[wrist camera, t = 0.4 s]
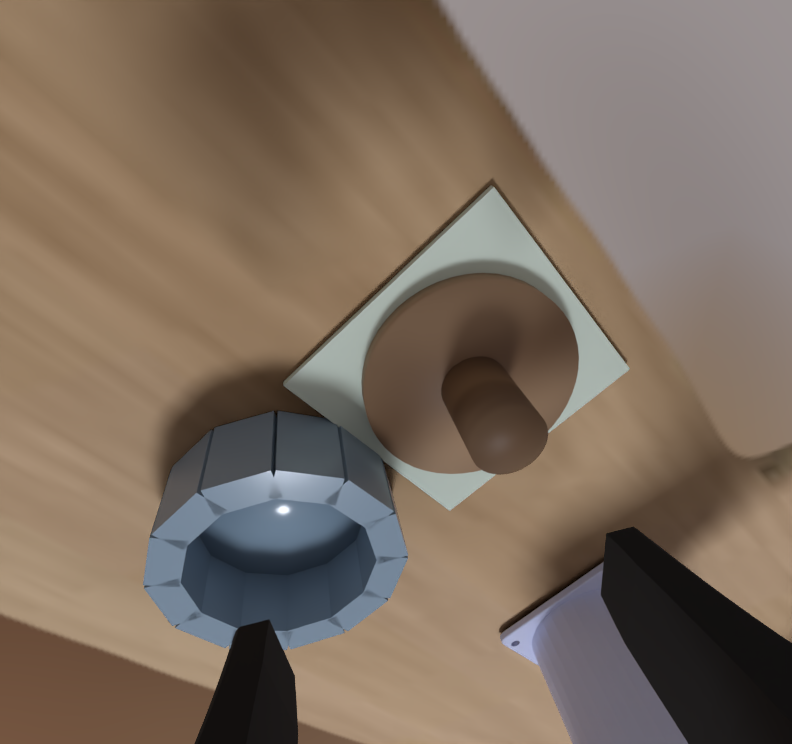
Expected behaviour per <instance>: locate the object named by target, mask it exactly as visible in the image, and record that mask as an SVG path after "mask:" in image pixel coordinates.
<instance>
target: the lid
mask: <svg viewBox="0 0 792 744" xmlns="http://www.w3.org/2000/svg"><path fill="white" fill-rule="evenodd" d="M578 366H579V353H578V344H577V340H576V336H575V333H574V330H573V328H572V326H571V324H570V322H569V320H568V319H567V317H566V316H565V314H564V312H563V311H562V310H561V309H560V308H559V307H558V306H557V305H556V304H555V303H554V302H553V301H552V300H551V299H549V298H548V297H547V296H546V295H544V294H543V293H542V292H540V291H539V290H538V289H537V288H535V287H534V286H532V285H530V284H528V283H526V282H524V281H522V280H519V279H516V278H514V277H511V276H506V275H501V274H495V273H473V274H464V275H459V276H455V277H451V278H448V279H445V280H442V281H439V282H436V283H434V284H432V285H430V286H428V287H426V288H424V289H422V290H420V291H419V292H417V293H416V294H414V295H413V296H411V297H409V298H408V299H407V300H406V301H405V302H403V303H402V304H401V305H400V306H399V307H397V308H396V309H395V310H394V312H393V313H392V314H391V315H390V316H389V317H388V318H387V319H386V320H385V322H384V323H383V324H382V326H381V327H380V328H379V330H378V331H377V333H376V335H375V337H374V338H373V340H372V342H371V344H370V347H369V349H368V352H367V354H366V357H365V361H364V366H363V370H362V381H361V384H362V396H363V401H364V406H365V410H366V414H367V418H368V420H369V423H370V426H371V428H372V430H373V432H374V434H375V435H376V437H377V439H378V440H379V441H380V442H381V444H382V445H383V446H384V447H385V448H386V449H387V450H388V451H389V452H390V453H391V454H392V455H394V456H395V457H397V458H398V459H400V460H401V461H403V462H404V463H406V464H409V465H411V466H413V467H415V468H418V469H421V470H425V471H429V472H434V473H443V474H462V473H469V472H476V471H480V470H483V471H485V472H487V473H491V474H509V473H513V472H516V471H518V470H521V469H523V468H524V467H526V466H528V465H529V464H531V463H532V462H533V461H534V460H535V459H536V458H537V457H538V456H539V455H540V454H541V452H542V451H543V449H544V447H545V445H546V442H547V438H548V430H549V429H550V428H551V427H552V426H553V425H554V424H555V422H556V421H557V420H558V418H559V417H560V416H561V414H562V412H563V411H564V409H565V407H566V406H567V404H568V402H569V399H570V397H571V395H572V393H573V389H574V386H575V383H576V379H577V374H578Z"/></svg>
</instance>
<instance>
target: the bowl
mask: <svg viewBox="0 0 792 744" xmlns="http://www.w3.org/2000/svg"><path fill="white" fill-rule="evenodd" d="M407 555H408V553H407V549H406V545H405V541H404V537H403V533H402V529H401V525H400V521H399V517H398V513H397V509H396V505H395V501H394V497H393V493H392V490H391V487H390V483H389V480H388V476H387V473H386V470H385V466H384V463H383V460H382V458H381V457H380V455H379V454H377V453H376V452H375V451H373V450H372V449H371V448H369V447H368V446H367V445H365V444H364V443H363V442H361V441H360V440H359V439H357V438H356V437H355V436H353V435H352V434H351V433H349V432H348V431H347V430H346V429H344V428H343V427H342V426H340V427H338V426H337V424H334V423H332V422H331V421H330V420H328V419H327V418H321V417H314V416H308V415H302V414H296V413H289V412H283V411H278V413H277V417H276V415H275V413H274V411H272V412H268V413H265V414H261V415H257V416H254V417H250V418H247V419H243V420H240V421H236V422H233V423H229V424H225V425H222V426H218V427H215V428H214V431H213V430H210V431H209V432H208V433H207V434H206V435H205V436H204V437H203V438H202V439H201V440H200V441H199V442H198V443H197V444H195V445H194V446H193V447H192V448H191V449H190V450H189V451H188V452H187V453H186V454H185V455H184V456H183V457H182V458H181V459H180V460H179V461H178V462H177V463H176V464H175V465H174V466H173V467H172V469H171V471H170V474H169V477H168V481H167V484H166V487H165V490H164V493H163V497H162V500H161V503H160V506H159V509H158V512H157V516H156V519H155V522H154V525H153V528H152V532H151V535H150V538H149V545H148V553H147V560H146V567H145V575H144V582H143V585H145V586H144V589H145V590H146V592H147V593H148V594H149V596H150V597H151V598H152V600H153V601H154V602H155V604H156V605H157V606H158V608H159V609H160V610H161V612H162V613H163V614H164V616H165V617H166V618H167V620H168V621H169V622H170V624H171V625H172V626H174V625H176V627H175V628H176V629H179V630H181V631H184V632H186V633H189V634H191V635H194V636H196V637H199V638H201V639H204V640H206V641H209V642H211V643H214V644H216V645H219V646H221V647H224V648H226V647H227V646H229V649H230V647H231V644H232V641H233V638H234V634H235V632H236V630H237V629H238V628H239V627H241V626H245V625H249V624H252V623H256V622H260V621H264V620H268V619H270V622H271V624H272V626H273V628H274V631H275V633H276V635H277V637H278V640H279V642H280V644H281V646H282V649H283V650H287V648H288V645H289V647H290V649H293V648H297V647H300V646H303V645H307V644H310V643H313V642H316V641H320V640H323V639H326V638H329V637H333V636H336V635H339V634H342V633H345V632H344V630H346V631H349V630H350V629H351V628H353V627H354V626H355V625H357V624H358V623H359V622H361V621H362V620H363V619H365V618H366V617H367V616H368V615H370V614H371V613H372V612H374V611H375V610H376V609H378V608H379V607H380V606H382V605H383V604H384V603H385V602H387V601H388V598H390V597H391V595H392V593H393V591H394V588H395V586H396V584H397V582H398V579H399V577H400V575H401V573H402V570H403V568H404V566H405V564H406V561H407V559H408V556H407Z"/></svg>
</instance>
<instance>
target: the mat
mask: <svg viewBox="0 0 792 744" xmlns="http://www.w3.org/2000/svg"><path fill="white" fill-rule="evenodd" d="M473 273H495V274H501V275H506V276H511V277H514V278H516V279H519V280H522V281H524V282H526V283H528V284H530V285H532V286H534V287H535V288H537V289H538V290H539V291H540V292H542V293H543V294H544V295H546V296H547V297H548V298H549V299H551V300H552V301H553V302H554V303H555V304H556V305H557V306H558V307H559V308H560V309H561V310H562V311H563V312H564V314H565V316H566V317H567V319H568V320H569V322H570V324H571V326H572V328H573V330H574V333H575V336H576V340H577V344H578V353H579V366H578V374H577V379H576V383H575V386H574V389H573V393H572V395H571V397H570V399H569V402H568V404H567V406H566V407H565V409H564V411H563V412H562V414H561V416H560V417H559V418H558V420H557V421H556V422H555V424H554V425H553V426H552V427H551V428H550V429H549V430H548V433H549V432H551V431H552V430H553V429H554V428H556V427H557V426H558V425H559V424H561V423H562V422H563V421H565V420H566V419H567V418H568V417H570V416H571V415H572V414H573V413H575V412H576V411H577V410H579V409H580V408H581V407H582V406H584V405H585V404H586V403H587V402H589V401H590V400H591V399H593V398H594V397H595V396H596V395H598V394H599V393H600V392H601V391H603V390H604V389H605V388H607V387H608V386H609V385H610V384H612V383H613V382H614V381H615V380H617V379H618V378H619V377H620V376H622V375H623V374H624V373H626V372H627V371H628V370H629V369H630V368H629V367H628V366H627V364H626V363H625V362H624V360H623V359H622V358H621V356H620V355H619V354H618V352H617V351H616V350H615V348H614V347H613V346H612V344H611V343H610V342H609V340H608V339H607V338H606V336H605V335H604V334H603V332H602V331H601V330H600V328H599V327H598V326H597V324H596V323H595V322H594V320H593V319H592V317H591V316H590V315H589V313H588V312H587V311H586V309H585V308H584V307H583V305H582V304H581V303H580V301H579V300H578V299H577V297H576V296H575V295H574V293H573V292H572V291H571V289H570V288H569V287H568V285H567V284H566V283H565V281H564V280H563V279H562V277H561V276H560V275H559V273H558V272H557V271H556V269H555V268H554V267H553V265H552V264H551V263H550V261H549V260H548V259H547V257H546V256H545V255H544V253H543V252H542V250H541V249H540V248H539V246H538V245H537V244H536V242H535V241H534V240H533V238H532V237H531V236H530V234H529V233H528V232H527V230H526V229H525V228H524V226H523V225H522V224H521V222H520V221H519V220H518V218H517V217H516V216H515V214H514V213H513V212H512V210H511V209H510V208H509V206H508V205H507V204H506V202H505V201H504V200H503V198H502V197H501V196H500V194H499V193H498V192H497V190H496V189H495V187H493V186H490V187H489V188H487V189H486V190H485V191H484V192H483V193H482V194H481V195H480V196H479V197H478V198H477V199H476V200H475V201H474V202H473V203H472V204H471V205H469V206H468V207H467V208H466V209H465V210H464V211H463V212H462V213H461V214H460V215H459V216H458V217H457V218H456V219H455V220H454V221H453V222H452V223H450V224H449V225H448V226H447V227H446V228H445V229H444V230H443V231H442V232H441V233H440V234H439V235H438V236H437V237H436V238H435V239H434V240H433V241H431V242H430V243H429V244H428V245H427V246H426V247H425V248H424V249H423V250H422V251H421V252H420V253H419V254H418V255H417V256H416V257H415V258H413V259H412V260H411V261H410V262H409V263H408V264H407V265H406V266H405V267H404V268H403V269H402V270H401V271H400V272H399V273H398V274H397V275H396V276H394V277H393V278H392V279H391V280H390V281H389V282H388V283H387V284H386V285H385V286H384V287H383V288H382V289H381V290H380V291H379V292H378V293H377V294H375V295H374V296H373V297H372V298H371V299H370V300H369V301H368V302H367V303H366V304H365V305H364V306H363V307H362V308H361V309H360V310H359V311H357V312H356V313H355V314H354V315H353V316H352V317H351V318H350V319H349V320H348V321H347V322H346V323H345V324H344V325H343V326H342V327H341V328H340V329H338V330H337V331H336V332H335V333H334V334H333V335H332V336H331V337H330V338H329V339H328V340H327V341H326V342H325V343H324V344H323V345H322V346H321V347H319V348H318V349H317V350H316V351H315V352H314V353H313V354H312V355H311V356H310V357H309V358H308V359H307V360H306V361H305V362H304V363H303V364H302V365H300V366H299V367H298V368H297V369H296V370H295V371H294V372H293V373H292V374H291V375H290V376H289V377H288V378H287V379H286V380H285V381H284V382H283V386H284V387H286V388H287V389H288V390H290V391H291V392H292V393H294V394H295V395H296V396H298V397H299V398H300V399H302V400H303V401H304V402H306V403H307V404H308V405H310V406H311V407H312V408H314V409H315V410H316V411H318V412H319V413H320V414H322V415H323V416H324V417H326V418H327V419H328V420H330V421H331V422H332V423H334V424H337V426H338V427H340V426H342V427H343V428H344V429H346V430H347V431H348V432H349V433H351V434H352V435H353V436H355V437H356V438H357V439H359V440H360V441H361V442H363V443H364V444H365V445H367V446H368V447H369V448H371V449H372V450H373V451H375V452H376V453H377V454H379V455H380V457H381V458H382V460H383V461H384V462H385V463H387V464H388V465H389V466H391V467H392V468H393V469H395V470H396V471H397V472H399V473H400V474H401V475H403V476H404V477H405V478H407V479H408V480H409V481H411V482H412V483H413V484H415V485H416V486H417V487H419V488H420V489H421V490H423V491H424V492H425V493H427V494H428V495H429V496H431V497H432V498H433V499H435V500H436V501H437V502H439V503H440V504H441V505H443V506H444V507H445V508H447V509H448V510H449V511H450V510H451V509H453V508H454V507H455V506H456V505H458V504H459V503H460V502H462V501H463V500H464V499H465V498H467V497H468V496H469V495H470V494H472V493H473V492H474V491H476V490H477V489H478V488H479V487H481V486H482V485H483V484H484V483H486V482H487V481H488V480H490V479H491V478H492V477H493V476H495V475H496V474H491V473H487V472H485V471H483V470H480V471H476V472H469V473H462V474H443V473H434V472H429V471H425V470H421V469H418V468H415V467H413V466H411V465H409V464H406V463H404V462H403V461H401V460H400V459H398V458H397V457H395V456H394V455H392V454H391V453H390V452H389V451H388V450H387V449H386V448H385V447H384V446H383V445H382V444H381V442H380V441H379V440H378V439H377V437H376V435H375V434H374V432H373V430H372V428H371V426H370V423H369V420H368V418H367V414H366V410H365V406H364V401H363V396H362V384H361V381H362V370H363V366H364V361H365V357H366V354H367V352H368V349H369V347H370V344H371V342H372V340H373V338H374V337H375V335H376V333H377V331H378V330H379V328H380V327H381V326H382V324H383V323H384V322H385V320H386V319H387V318H388V317H389V316H390V315H391V314H392V313H393V312H394V310H395V309H396V308H397V307H399V306H400V305H401V304H402V303H403V302H405V301H406V300H407V299H408V298H409V297H411V296H413V295H414V294H416V293H417V292H419V291H420V290H422V289H424V288H426V287H428V286H430V285H432V284H434V283H436V282H439V281H442V280H445V279H448V278H451V277H455V276H459V275H464V274H473Z"/></svg>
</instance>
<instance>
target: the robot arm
mask: <svg viewBox="0 0 792 744" xmlns="http://www.w3.org/2000/svg"><path fill="white" fill-rule="evenodd" d="M500 639H501V641H502V644H503V645H505V646H507V647H508V648H510V649H512V650H513V651H515V652H517V653H518V654H520V655H522V656H523V657H525V658H527V659H529V660H530V661H532V662H534V663H535V664H537V665H539V667H540V669H541V671H542V674H543V676H544V678H545V680H546V683H547V685H548V687H549V690H550V692H551V694H552V697H553V699H554V701H555V704H556V706H557V708H558V710H559V713H560V715H561V717H562V720H563V722H564V724H565V727H566V729H567V731H568V734H569V736H570V738H571V741H572V743H573V744H792V643H791V642H789V641H788V640H786V639H785V638H783V637H782V636H780V635H779V634H777V633H776V632H774V631H773V630H772V629H770V628H769V627H767V626H766V625H764V624H763V623H761V622H760V621H759V620H757V619H756V618H754V617H753V616H751V615H750V614H749V613H747V612H746V611H745V610H743V609H742V608H740V607H739V606H738V605H736V604H735V603H733V602H732V601H731V600H729V599H728V598H727V597H725V596H724V595H722V594H721V593H720V592H718V591H717V590H716V589H714V588H713V587H712V586H710V585H709V584H708V583H706V582H705V581H703V580H702V579H701V578H700V577H698V576H697V575H696V574H694V573H693V572H692V571H690V570H689V569H688V568H686V567H685V566H684V565H682V564H681V563H680V562H679V561H677V560H676V559H675V558H673V557H672V556H671V555H670V554H668V553H667V552H666V551H664V550H663V549H662V548H661V547H659V546H658V545H657V544H655V543H654V542H653V541H652V540H650V539H649V538H648V537H646V536H645V535H644V534H643V533H641V532H640V531H639V530H637V529H636V528H634V527H630V528H626V529H622V530H618V531H614V532H610V533H607V534H606V542H605V553H604V562H602V563H601V564H600V565H598V566H597V567H595V568H594V569H592V570H591V571H590V572H588V573H587V574H585V575H584V576H582V577H581V578H580V579H578V580H577V581H575V582H574V583H572V584H571V585H569V586H568V587H567V588H565V589H564V590H562V591H561V592H559V593H558V594H557V595H555V596H554V597H552V598H551V599H549V600H548V601H547V602H545V603H544V604H542V605H541V606H539V607H538V608H537V609H535V610H534V611H532V612H531V613H529V614H528V615H527V616H525V617H524V618H522V619H521V620H519V621H518V622H516V623H515V624H514V625H512V626H511V627H509V628H508V629H506V630H505V631H504V632H503V633H502V634H501V635H500ZM195 744H298V724H297V705H296V690H295V675H294V673H293V671H292V669H291V667H290V664H289V662H288V660H287V658H286V655H285V653H284V651H283V649H282V646H281V644H280V642H279V640H278V637H277V635H276V633H275V631H274V628H273V626H272V624H271V622H270V619H268V620H264V621H260V622H256V623H252V624H249V625H245V626H241V627H239V628H238V629H237V630H236V632H235V634H234V638H233V641H232V644H231V647H230V650H229V653H228V656H227V659H226V662H225V665H224V668H223V671H222V673H221V676H220V679H219V682H218V685H217V687H216V690H215V693H214V695H213V698H212V701H211V704H210V706H209V709H208V712H207V714H206V717H205V719H204V722H203V724H202V727H201V729H200V732H199V734H198V737H197V739H196V742H195Z"/></svg>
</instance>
